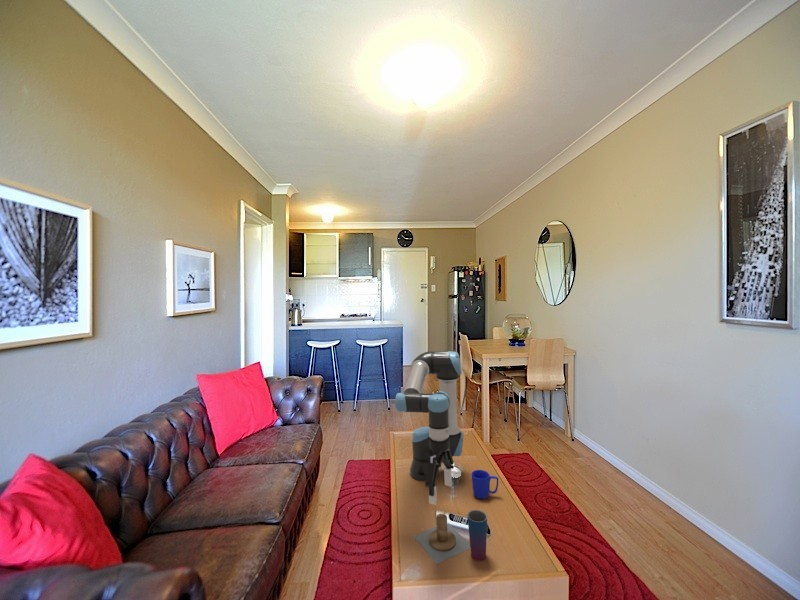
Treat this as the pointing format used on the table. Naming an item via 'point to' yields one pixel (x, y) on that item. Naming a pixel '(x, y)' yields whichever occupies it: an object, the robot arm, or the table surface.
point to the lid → (442, 535)
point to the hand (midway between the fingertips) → (440, 494)
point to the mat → (442, 555)
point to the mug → (482, 483)
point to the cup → (477, 534)
